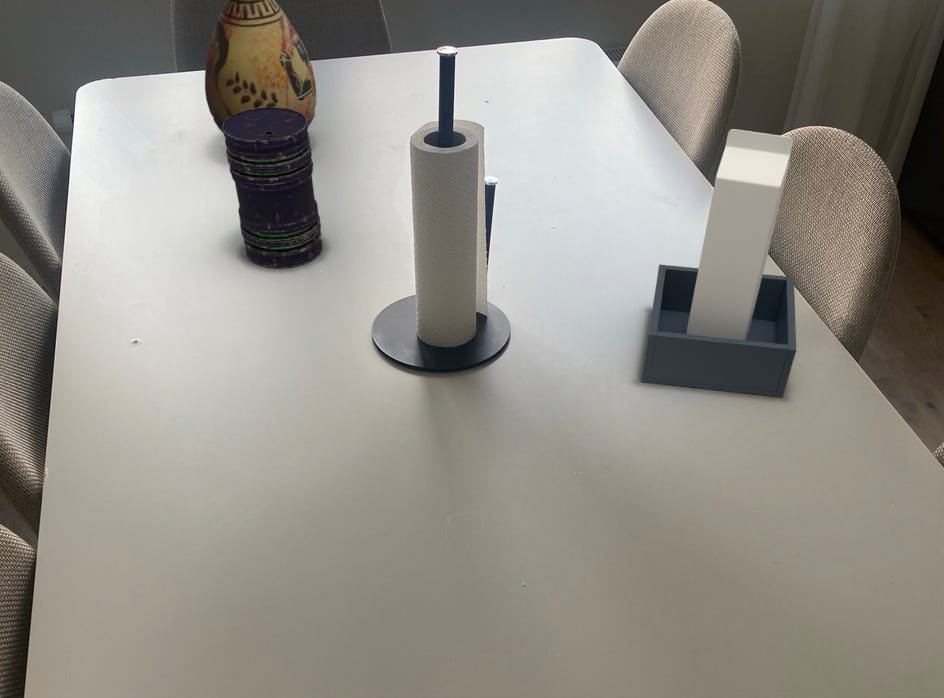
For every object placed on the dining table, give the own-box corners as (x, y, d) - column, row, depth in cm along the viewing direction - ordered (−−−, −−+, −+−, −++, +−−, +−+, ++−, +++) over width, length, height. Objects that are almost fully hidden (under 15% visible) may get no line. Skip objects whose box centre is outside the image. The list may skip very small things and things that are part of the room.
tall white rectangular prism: (736, 367, 100) (790, 151, 84) (680, 355, 102) (722, 141, 85) (747, 337, 104) (800, 125, 87) (693, 326, 106) (735, 116, 89)
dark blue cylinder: (240, 236, 122) (216, 112, 110) (315, 226, 123) (300, 102, 112) (251, 274, 115) (226, 146, 104) (330, 262, 117) (314, 135, 106)
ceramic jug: (317, 173, 134) (285, -88, 111) (208, 173, 134) (155, -87, 111) (329, 125, 145) (302, -122, 122) (229, 125, 145) (184, -121, 122)
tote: (781, 323, 107) (794, 276, 103) (782, 397, 98) (796, 349, 93) (652, 310, 109) (659, 264, 105) (641, 381, 100) (648, 334, 96)
